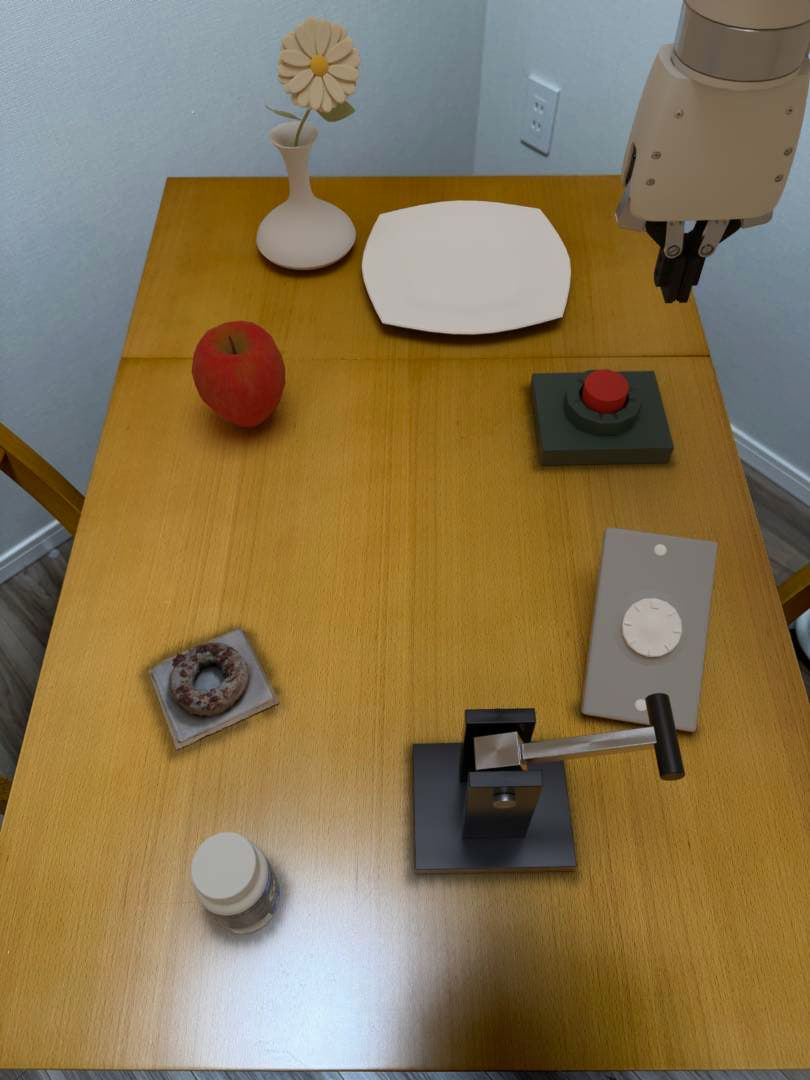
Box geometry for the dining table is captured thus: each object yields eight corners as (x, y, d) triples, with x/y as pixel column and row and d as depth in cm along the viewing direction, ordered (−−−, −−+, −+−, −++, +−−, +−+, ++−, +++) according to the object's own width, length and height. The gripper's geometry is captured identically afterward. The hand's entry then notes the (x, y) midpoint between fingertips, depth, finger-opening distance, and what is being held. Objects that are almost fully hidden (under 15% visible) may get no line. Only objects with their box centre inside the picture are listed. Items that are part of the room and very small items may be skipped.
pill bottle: (292, 910, 58) (275, 880, 51) (228, 948, 57) (201, 922, 50) (263, 848, 60) (243, 811, 53) (201, 883, 59) (172, 849, 52)
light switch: (582, 715, 64) (607, 524, 65) (575, 709, 70) (598, 534, 71) (699, 734, 63) (722, 540, 64) (681, 726, 69) (702, 548, 70)
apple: (231, 379, 87) (209, 293, 78) (308, 398, 85) (295, 313, 77) (192, 439, 83) (164, 355, 74) (272, 460, 81) (254, 377, 72)
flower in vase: (252, 279, 96) (206, 47, 76) (265, 218, 103) (227, -11, 82) (367, 281, 96) (353, 47, 75) (373, 219, 102) (362, -11, 82)
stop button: (621, 382, 81) (624, 369, 80) (628, 413, 79) (632, 400, 77) (579, 383, 81) (581, 369, 80) (584, 414, 79) (587, 401, 77)
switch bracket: (558, 746, 64) (583, 677, 55) (574, 871, 59) (604, 818, 49) (412, 749, 64) (411, 680, 55) (415, 874, 59) (414, 822, 50)
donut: (244, 625, 71) (239, 613, 69) (279, 704, 67) (275, 692, 65) (146, 667, 69) (139, 655, 67) (176, 750, 65) (169, 740, 63)
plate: (362, 351, 89) (361, 336, 88) (361, 217, 102) (361, 203, 101) (583, 343, 89) (586, 329, 88) (553, 211, 103) (556, 196, 101)
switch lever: (670, 703, 53) (667, 687, 51) (686, 782, 50) (684, 768, 49) (480, 729, 56) (471, 715, 54) (486, 805, 53) (477, 793, 52)
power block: (649, 386, 86) (658, 356, 82) (668, 463, 80) (679, 434, 77) (529, 389, 86) (534, 359, 82) (540, 465, 80) (545, 437, 77)
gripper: (850, 2, 52) (758, 258, 67) (604, 11, 52) (567, 264, 67) (892, 61, 48) (784, 321, 63) (624, 70, 48) (579, 327, 63)
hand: (672, 291), depth 65 cm, fingers closed
